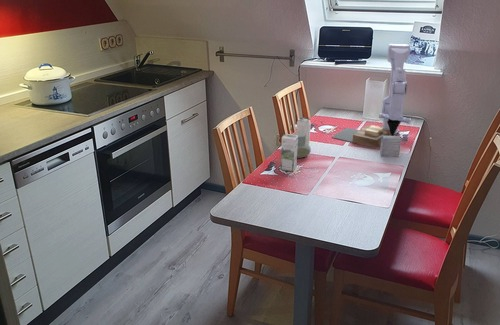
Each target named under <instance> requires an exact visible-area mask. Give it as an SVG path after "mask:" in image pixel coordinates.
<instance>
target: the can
mask: <svg viewBox="0 0 500 325" xmlns="http://www.w3.org/2000/svg"><path fill="white" fill-rule="evenodd" d="M297 119H298V120H297V122H296V132H295V133H304V134H305V135H306V141H305V143H307V144H308V145H309V144H310V143H311V142H310V139H311V126H312V125H311V119H310V118H308V117H304V116H303V117H299V118H297Z"/></svg>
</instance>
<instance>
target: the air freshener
mask: <svg viewBox="0 0 500 325" xmlns="http://www.w3.org/2000/svg"><path fill="white" fill-rule="evenodd" d="M292 135H298V147H297V159H302V158H305V157H307V156H309V154H310V153H311V150H312V149H311V146H310V145H309V144H307V143H305V141H306V135H305V134H304V133H296V132H294V133H292Z"/></svg>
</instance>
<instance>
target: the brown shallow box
mask: <svg viewBox="0 0 500 325" xmlns="http://www.w3.org/2000/svg"><path fill="white" fill-rule="evenodd" d="M370 126H371V125H368V124H367V125H366V126H364V127H362V128H361V129H360V131H358V132H357V133H355V134H354V135H353V141H352V142H353V144H356V143H357V145H362V146H365V145H366V146H365V147H369V148H374V147H375V148H374V149H376V148H378V147H380V146H381V145H380V144H381V139H382V136H391V135H390V130H389V129H384V131H383V132H382V133H381V134H379V135H378V136H372V135H367V134H365V130H366V129H367V128H369V127H370ZM352 142H351V143H352Z"/></svg>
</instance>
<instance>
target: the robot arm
mask: <svg viewBox="0 0 500 325" xmlns="http://www.w3.org/2000/svg"><path fill="white" fill-rule="evenodd" d="M410 52H411V45H410V44H401V43H399V44H397V43H395V44H393V43H389V45H388V49H387V58H386V59H387V62H389V63H390V66H391V69H390V76H389V77H390V78H389V79H390V80H389V89H388V95H387V96H386V97H384V98H383V99H382V102H381V109H380V113H379V115H378V119H382V125H381V127H383V128H384V129H389V130H390V136H396V134H397V133H399V132H400V129H399V126H400V124H401V123H404V124H409V125H410V124H411V122H412V118H408V117H404V116H402V115H403V109H404V103H405V95H407V93H408V92H407V91H408V82H407V80H406V78H407V76H406V75H407V72H406V69H404V66H405V63H407V61H408V59H409V56H410Z"/></svg>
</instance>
